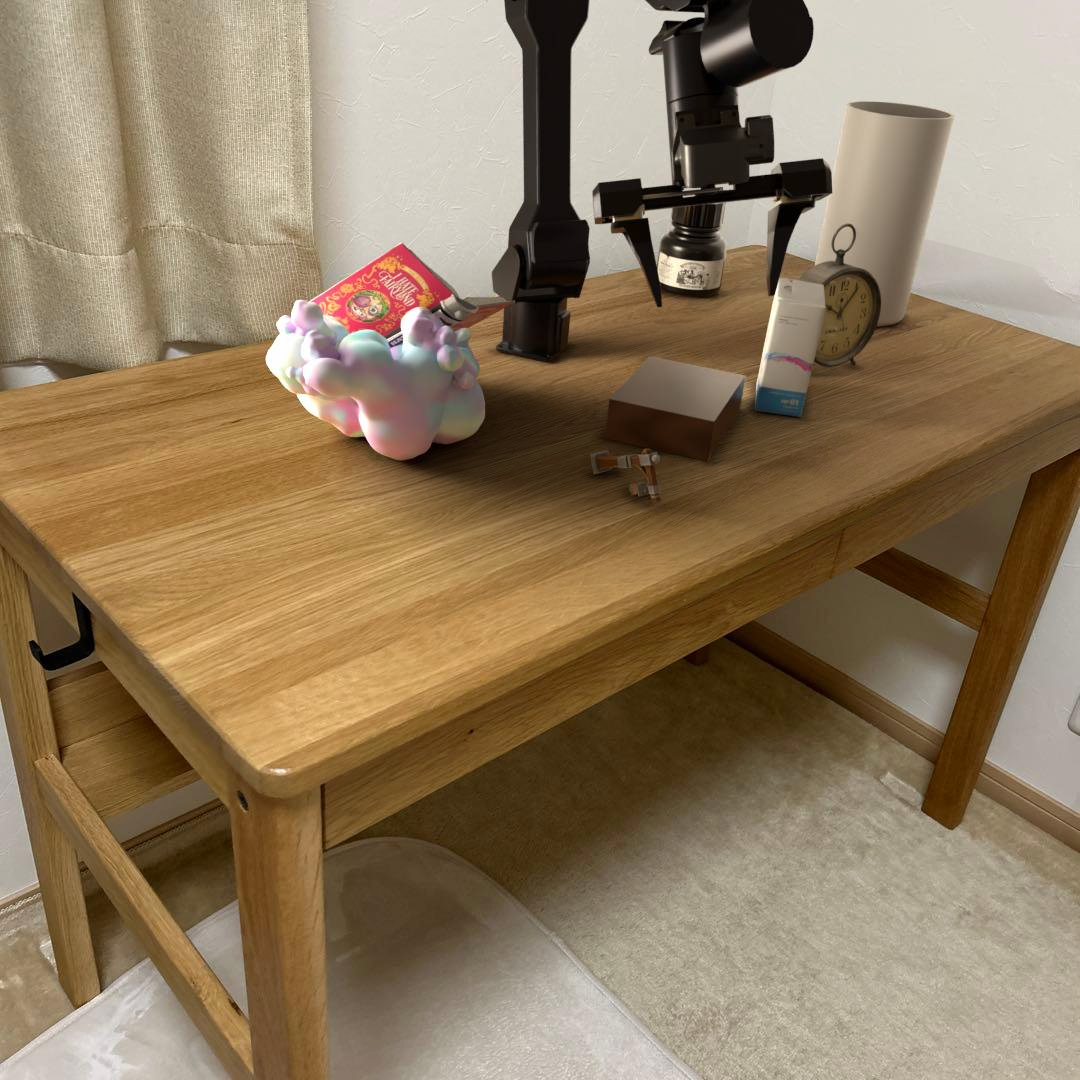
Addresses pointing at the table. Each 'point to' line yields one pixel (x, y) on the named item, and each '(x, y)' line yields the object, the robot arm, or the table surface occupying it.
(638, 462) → the grey orange jointed piece
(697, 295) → the ink bottle
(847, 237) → the cylinder vase
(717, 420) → the walnut block
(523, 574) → the table surface
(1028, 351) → the table surface
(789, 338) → the ink box
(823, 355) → the alarm clock
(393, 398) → the pastel bubbly cloud sculpture
